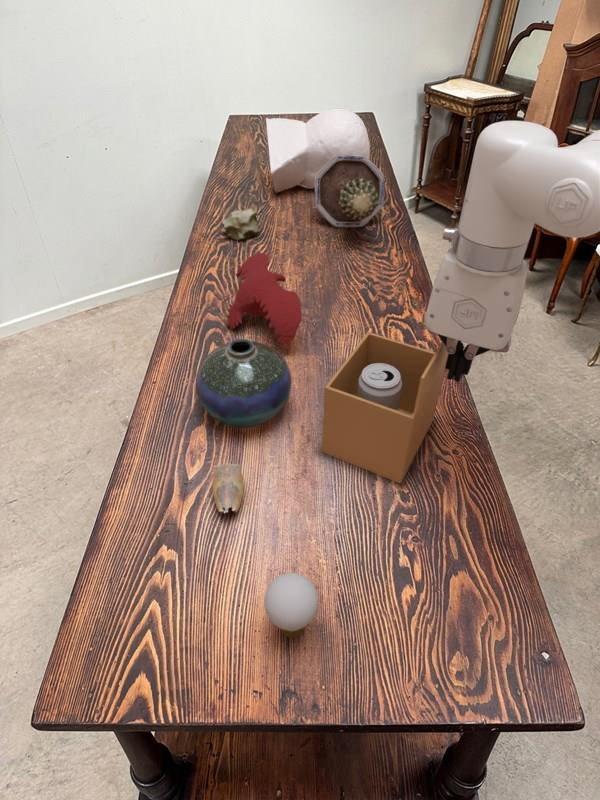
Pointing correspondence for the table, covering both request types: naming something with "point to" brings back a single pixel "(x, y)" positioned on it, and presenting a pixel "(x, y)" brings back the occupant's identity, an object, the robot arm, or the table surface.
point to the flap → (430, 375)
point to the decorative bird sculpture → (265, 299)
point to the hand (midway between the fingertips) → (456, 374)
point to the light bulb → (291, 603)
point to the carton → (378, 409)
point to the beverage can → (380, 385)
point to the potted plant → (349, 190)
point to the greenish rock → (241, 224)
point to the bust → (312, 145)
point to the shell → (228, 487)
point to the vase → (243, 383)
